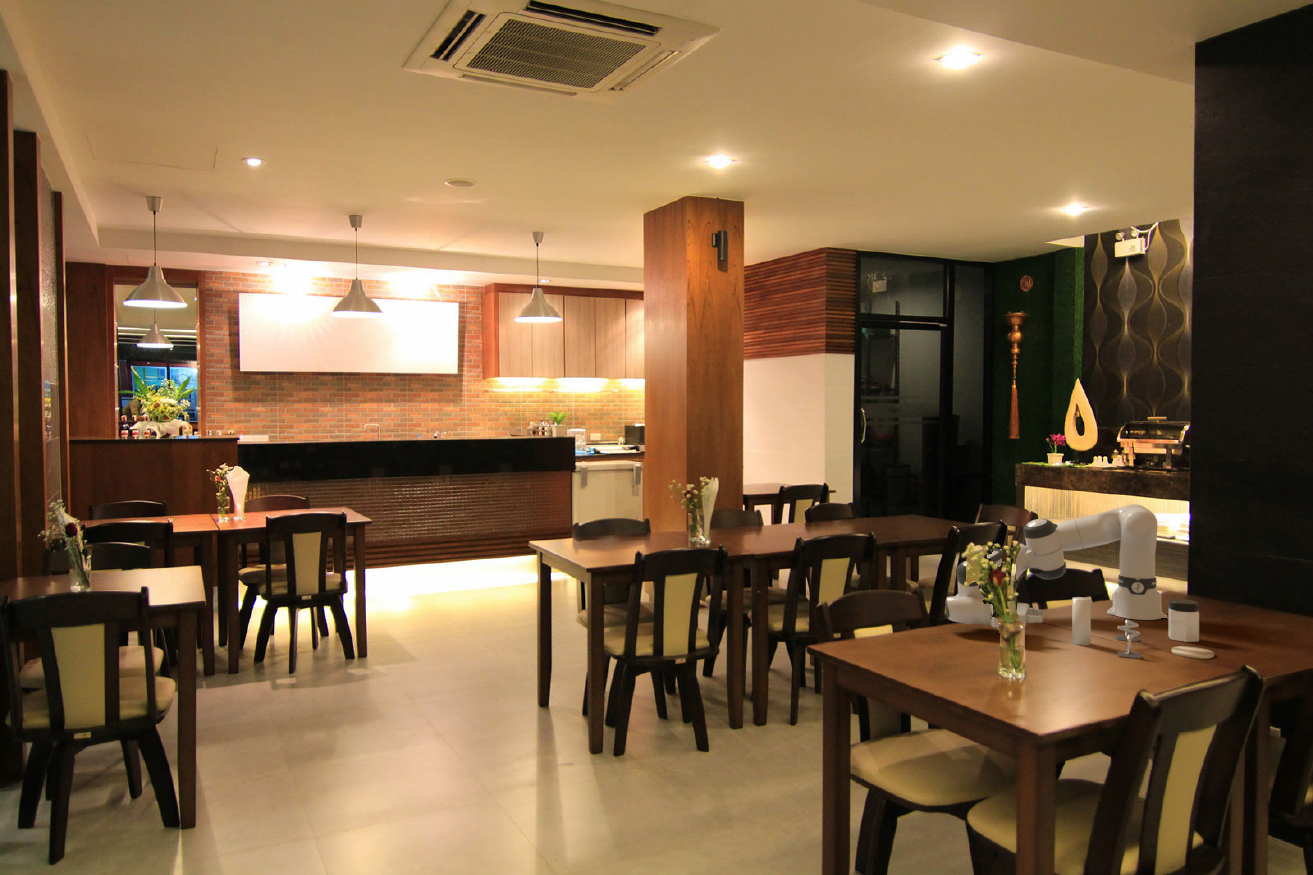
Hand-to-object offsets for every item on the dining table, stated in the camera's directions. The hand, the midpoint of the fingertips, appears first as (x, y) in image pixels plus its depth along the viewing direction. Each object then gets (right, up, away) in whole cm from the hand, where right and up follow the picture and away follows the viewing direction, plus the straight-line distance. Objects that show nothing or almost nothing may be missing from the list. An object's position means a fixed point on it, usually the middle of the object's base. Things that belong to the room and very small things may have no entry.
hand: (1043, 616), depth 286 cm
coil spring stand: (+22, -8, -10) cm, 25 cm away
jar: (+44, -7, 0) cm, 45 cm away
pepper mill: (+10, -8, -4) cm, 13 cm away
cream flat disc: (+37, -8, -18) cm, 42 cm away
